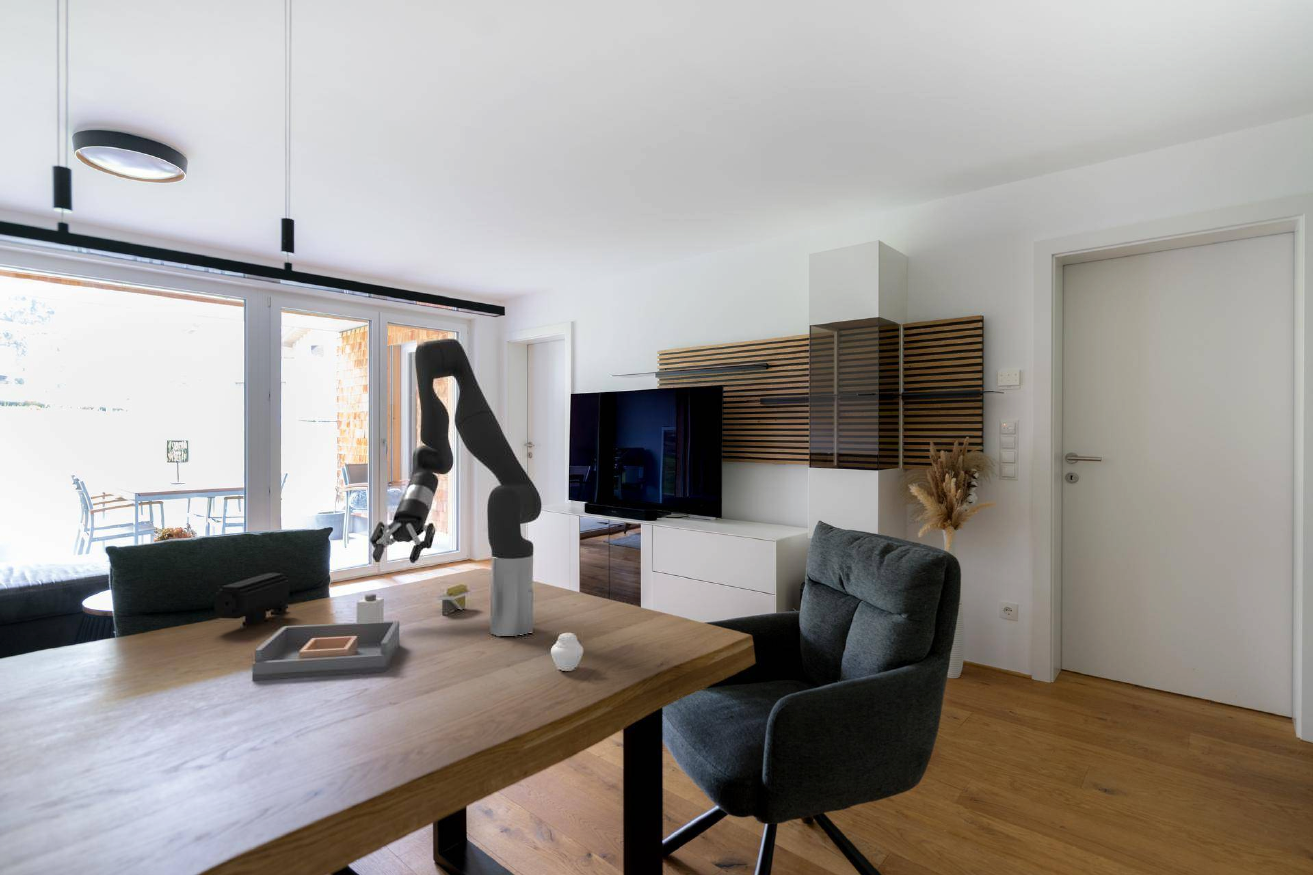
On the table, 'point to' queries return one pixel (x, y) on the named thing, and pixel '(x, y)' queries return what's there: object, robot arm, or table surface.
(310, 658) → the walled box
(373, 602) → the plug
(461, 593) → the platform
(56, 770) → the table surface
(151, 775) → the table surface
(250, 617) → the security camera
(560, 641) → the white lidded jar
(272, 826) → the table surface
